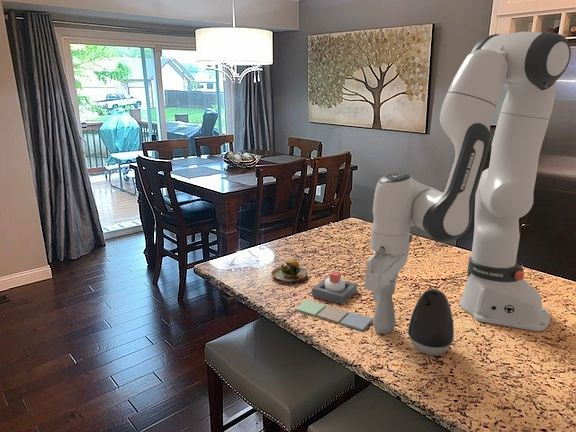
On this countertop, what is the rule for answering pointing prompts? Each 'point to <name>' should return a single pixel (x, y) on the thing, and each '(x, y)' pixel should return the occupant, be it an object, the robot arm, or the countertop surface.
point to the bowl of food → (290, 272)
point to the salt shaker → (385, 311)
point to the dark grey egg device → (431, 323)
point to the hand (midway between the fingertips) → (384, 294)
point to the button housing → (332, 296)
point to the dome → (335, 282)
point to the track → (334, 315)
